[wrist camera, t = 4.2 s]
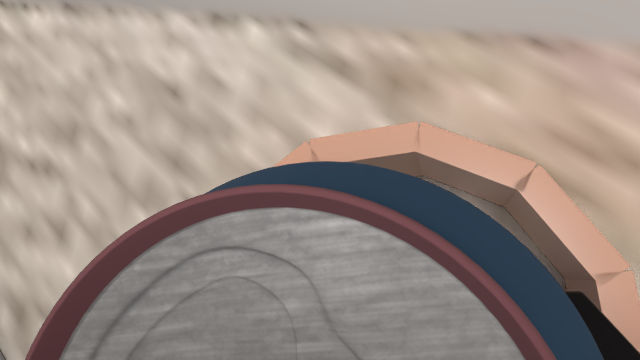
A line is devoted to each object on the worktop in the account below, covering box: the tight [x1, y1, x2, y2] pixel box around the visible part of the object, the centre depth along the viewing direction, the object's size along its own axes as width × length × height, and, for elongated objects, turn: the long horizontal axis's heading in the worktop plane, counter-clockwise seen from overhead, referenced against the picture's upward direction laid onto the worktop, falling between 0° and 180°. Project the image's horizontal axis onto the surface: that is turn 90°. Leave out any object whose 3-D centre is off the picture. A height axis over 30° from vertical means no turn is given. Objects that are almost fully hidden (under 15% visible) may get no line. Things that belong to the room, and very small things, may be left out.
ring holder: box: [273, 122, 640, 353], centre depth 14 cm, size 12×12×4 cm
